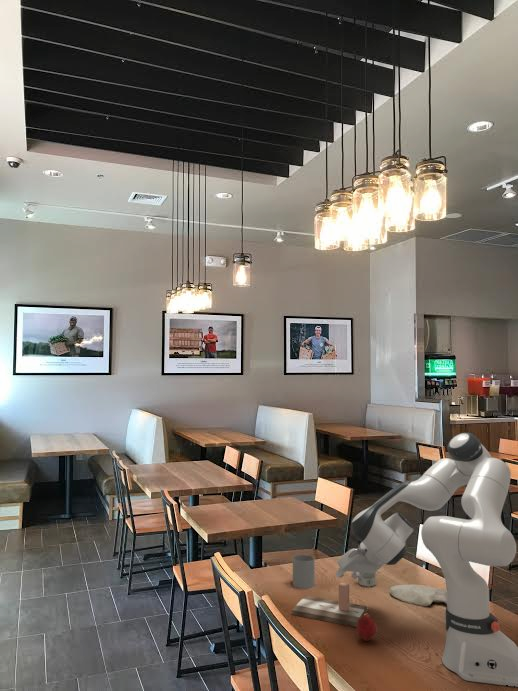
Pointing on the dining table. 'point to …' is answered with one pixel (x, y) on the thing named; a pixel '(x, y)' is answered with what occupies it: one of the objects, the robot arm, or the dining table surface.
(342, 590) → the stub
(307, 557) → the cup
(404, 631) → the dining table surface
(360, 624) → the onion
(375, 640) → the dining table surface
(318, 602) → the board with dashed strip
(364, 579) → the spray can
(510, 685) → the robot arm
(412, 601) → the fragment
